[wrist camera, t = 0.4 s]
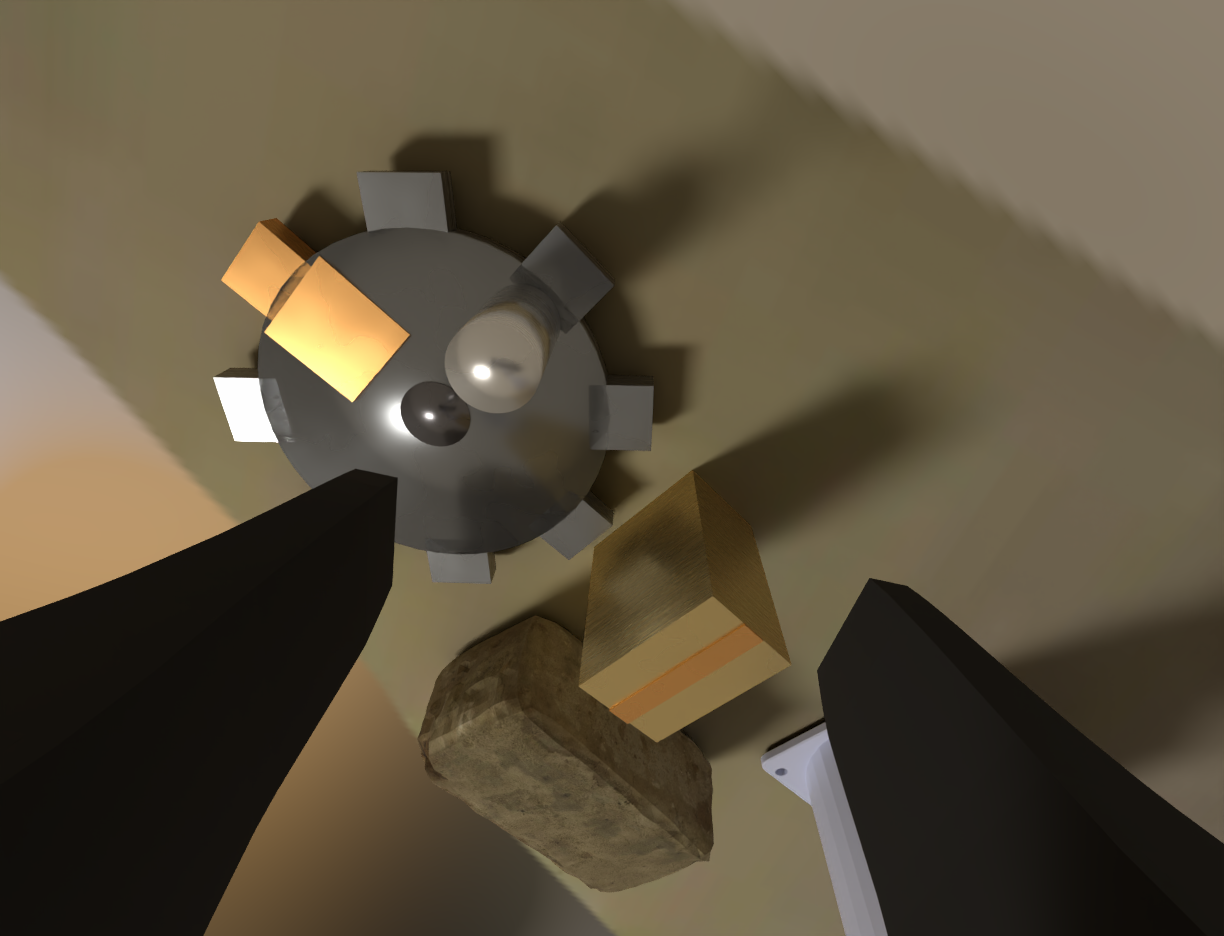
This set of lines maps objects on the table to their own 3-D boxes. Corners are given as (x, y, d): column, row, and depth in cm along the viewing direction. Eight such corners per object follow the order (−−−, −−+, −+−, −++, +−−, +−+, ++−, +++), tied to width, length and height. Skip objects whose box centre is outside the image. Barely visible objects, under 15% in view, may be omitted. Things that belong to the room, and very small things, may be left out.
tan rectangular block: (751, 525, 20) (792, 666, 14) (652, 595, 21) (656, 744, 16) (692, 469, 19) (713, 597, 13) (594, 547, 20) (577, 688, 15)
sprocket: (739, 410, 17) (768, 487, 13) (475, 622, 22) (440, 725, 18) (391, 43, 13) (289, 1, 9) (158, 397, 18) (24, 468, 14)
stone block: (536, 589, 22) (511, 702, 17) (718, 745, 26) (735, 869, 21) (434, 658, 24) (388, 775, 19) (618, 793, 28) (615, 915, 23)
